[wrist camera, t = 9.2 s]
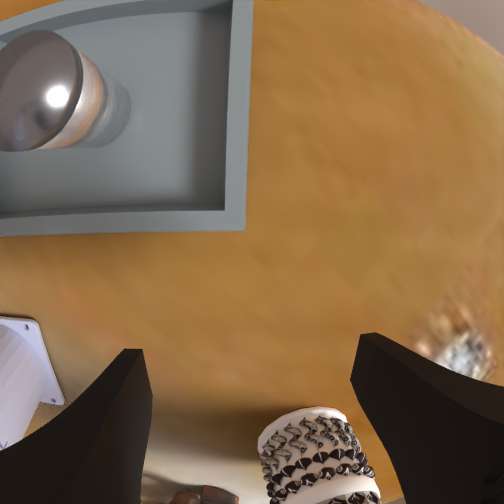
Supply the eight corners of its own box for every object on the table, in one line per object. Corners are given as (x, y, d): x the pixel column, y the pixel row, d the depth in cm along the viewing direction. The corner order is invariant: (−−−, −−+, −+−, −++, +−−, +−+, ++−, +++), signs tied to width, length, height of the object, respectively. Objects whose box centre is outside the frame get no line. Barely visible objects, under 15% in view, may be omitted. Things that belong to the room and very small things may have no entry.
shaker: (69, 157, 15) (-18, 168, 7) (60, 89, 13) (-24, 61, 6) (137, 138, 15) (80, 128, 7) (127, 67, 14) (72, 11, 6)
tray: (-2, 227, 16) (-23, 237, 13) (5, 37, 12) (-15, 28, 9) (239, 220, 18) (245, 230, 15) (247, 4, 14) (254, -15, 12)
